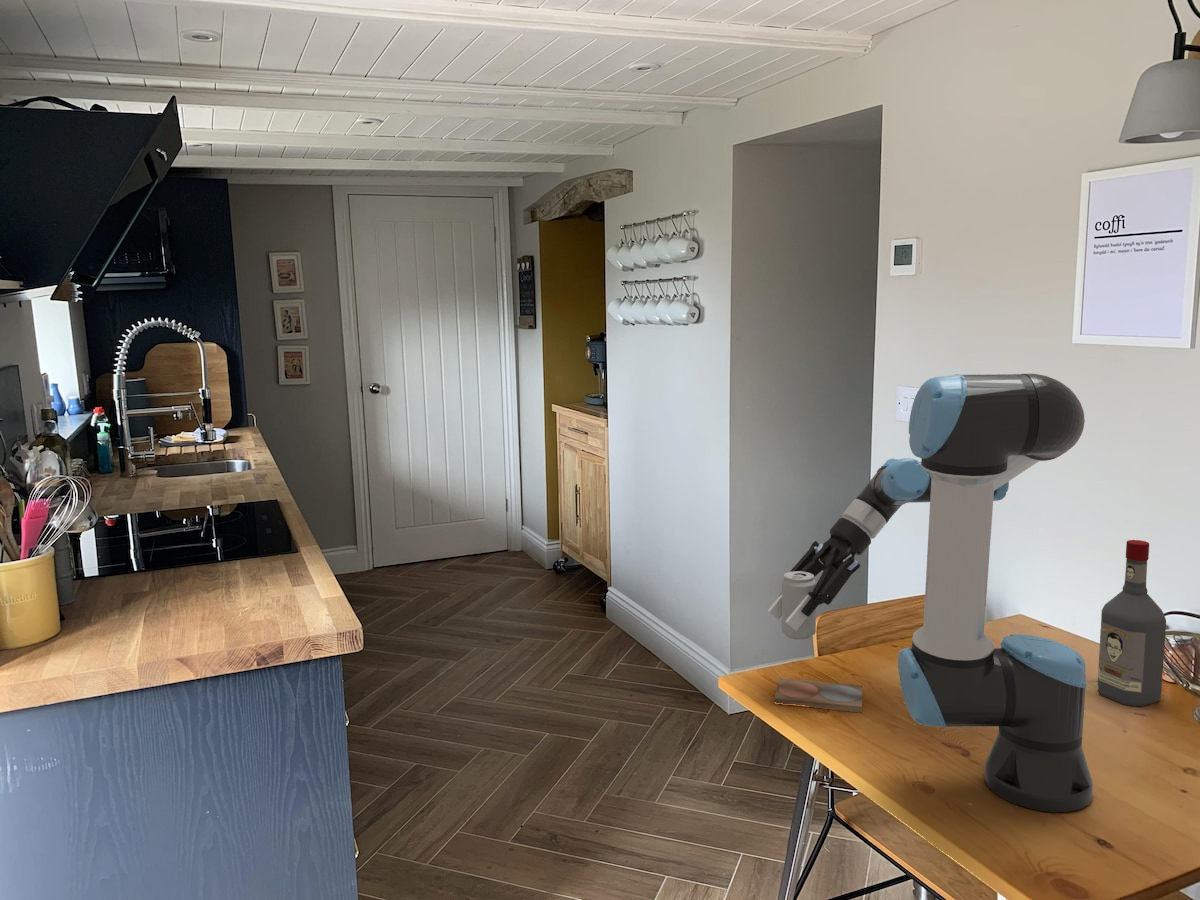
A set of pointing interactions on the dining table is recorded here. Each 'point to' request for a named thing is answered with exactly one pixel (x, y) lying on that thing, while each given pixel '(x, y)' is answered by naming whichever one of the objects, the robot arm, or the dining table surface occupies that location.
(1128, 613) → the liquor
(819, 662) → the dining table surface
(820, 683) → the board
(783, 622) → the beverage can
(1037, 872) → the dining table surface
